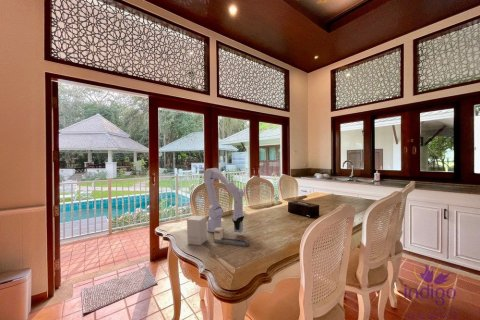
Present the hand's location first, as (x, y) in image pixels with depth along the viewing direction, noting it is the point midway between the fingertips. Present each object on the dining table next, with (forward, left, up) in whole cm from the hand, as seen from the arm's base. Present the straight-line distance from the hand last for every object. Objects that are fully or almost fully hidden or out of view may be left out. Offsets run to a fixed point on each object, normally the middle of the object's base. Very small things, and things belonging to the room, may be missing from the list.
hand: (238, 228), depth 137 cm
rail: (-1, -13, -5) cm, 14 cm away
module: (0, 0, -2) cm, 2 cm away
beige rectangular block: (-8, -13, -3) cm, 16 cm away
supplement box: (-21, -17, -5) cm, 27 cm away
